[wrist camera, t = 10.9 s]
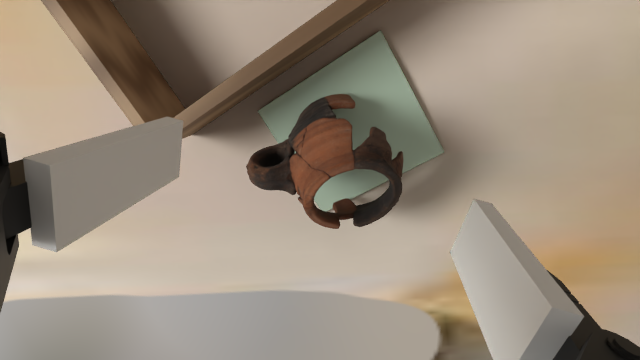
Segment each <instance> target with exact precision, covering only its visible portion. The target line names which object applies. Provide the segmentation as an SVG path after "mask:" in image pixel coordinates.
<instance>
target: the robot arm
mask: <svg viewBox="0 0 640 360" xmlns="http://www.w3.org/2000/svg"><path fill="white" fill-rule="evenodd" d="M182 131H183V121H182V120H178V119H174V118H171V117H164V118H160V119H157V120H153V121H150V122H146V123H143V124H139V125H136V126H132V127H129V128H125V129H122V130H119V131H115V132H112V133H108V134H105V135H101V136H98V137H94V138H91V139H87V140H84V141H80V142H77V143H73V144H70V145H66V146H63V147H59V148H56V149H52V150H49V151H45V152H42V153H38V154H35V155H31V156H28V157H24V158H23V159H22V160H19V161H15V162H12V163H9V162H8V155H7V147H6V139H5V134H3V133H1V132H0V312H1V308H2V305H3V301H4V298H5V294H6V290H7V287H8V283H9V280H10V276H11V272H12V269H13V265H14V262H15V258H16V254H17V251H18V247H19V241H18V233H21V232H23V231H25V230H27V229H29V228H31V236H32V245H34V246H37V247H41V248H44V249H47V250H51V251H54V252H58V251H59V250H61V249H63V248H64V247H66V246H68V245H69V244H71V243H72V242H74V241H76V240H77V239H79V238H81V237H82V236H84V235H85V234H87V233H89V232H90V231H92V230H94V229H95V228H97V227H98V226H100V225H102V224H103V223H105V222H106V221H108V220H110V219H111V218H113V217H115V216H116V215H118V214H119V213H121V212H123V211H124V210H126V209H128V208H129V207H131V206H132V205H134V204H136V203H137V202H139V201H141V200H142V199H144V198H145V197H147V196H149V195H150V194H152V193H154V192H155V191H157V190H158V189H160V188H162V187H163V186H165V185H166V184H168V183H170V182H171V181H173V180H175V179H176V178H178V177H179V170H180V157H181V144H182ZM450 253H451V256H452V258H453V261H454V263H455V266H456V268H457V271H458V273H459V276H460V278H461V281H462V283H463V286H464V288H465V291H466V293H467V296H468V298H469V301H470V303H471V306H472V308H473V311H474V313H475V316H476V318H477V321H478V323H479V326H480V328H481V331H482V333H483V336H484V338H485V341H486V343H487V346H488V348H489V351H490V353H491V356H492V358H493V360H640V347H638V346H637V345H635V344H634V343H632V342H631V341H629V340H628V339H626V338H624V337H622V336H620V335H618V334H616V333H613V332H610V331H608V330H603V329H601V328H600V326H599V325H598V324H597V323H596V322H595V321H594V319H593V318H592V317H591V316H590V315H589V313H588V312H587V311H586V310H585V309H584V308H583V306H582V305H581V304H579V302H578V300H577V299H576V298H575V297H574V296H573V295H572V294H571V292H570V291H569V290H568V289H567V287H566V286H565V285H564V284H563V283H562V282H561V281H560V280H559V279H558V278H556V277H555V276H554V275H553V274H551V273H550V272H549V271H548V270H546V269H545V268H544V267H543V265H542V264H541V263H540V262H539V261H538V259H537V258H536V257H535V256H534V254H533V253H532V252H531V251H530V250H529V248H528V247H527V246H526V245H525V243H524V242H523V241H522V240H521V239H520V237H519V236H518V235H517V234H516V233H515V231H514V230H513V229H512V228H511V226H510V225H509V224H508V223H507V222H506V220H505V219H504V218H503V217H502V215H501V214H500V213H499V212H498V211H497V209H496V208H495V207H494V206H493V204H492V203H488V202H484V201H481V200H477V199H473V202H472V204H471V206H470V208H469V211H468V213H467V215H466V217H465V220H464V222H463V224H462V226H461V229H460V231H459V233H458V235H457V238H456V240H455V242H454V244H453V247H452V249H451V251H450Z"/></svg>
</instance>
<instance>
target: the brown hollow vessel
mask: <svg viewBox="0 0 640 360" xmlns="http://www.w3.org/2000/svg"><path fill="white" fill-rule="evenodd" d="M353 108H355V101H354V100H353V99H352V98H351V96H349V95H347V94H334V95H330V96H326V97H322V98H320V99H318V100H316V101H314V102H312V103H311V104H310V105H309V106H307V107H306V108H305V109H304V110H303V111H302V113H301V114H300V116H299V118H298V120H297V123H296V125H295V126H294V128H293V129H292V131H291V133H290V134H289V136H288V139H286V140H285V141H283V142H282V143H279V144H277V145H274V146H269V147H266V148H263V149H261V150H259V151H257V152H256V153H254V154H253V155H252V156H251V158H250V160H249V163H248V164H247V166H246V167H247V170H248V171H247V173H248V175H249V178H250V181H251V182H252V183H253V184H254V185H256V186H257V187H259V188H261V189H264V190H283V191H286V192H288V193H290V194H292V195H294V194H296V192H297V194H298V195H300V197H299V198H298V200H299V201H300V202H301V203H302V204H303V207H304V210H305V211H306V214H307V215H308V216H309V217H310V219H312V220H313V221H314V222H315V223H318V224H319V225H322V226H324V227H328V228H333V229H338V228H339V226H340V222H339V220H345V219H350V218H353V220H354V221H353V224H354V225H355V226H358V227H362V226H365V225H368V224H370V223H372V222H374V221H376V220H378V219H380V218H382V217H383V216H384V215H386V214H387V213H388V212H389V211H390V210H391V209H392V207H393V206H395V204H396V203H397V202H398V200H399V197H400V195H401V193H402V183H401V177H402V170H403V152H402V151H400V152H398V154H397V156H396V157H395V158H394V159H392V151H391V146H390V144H389V143H388V142H387V140H386V134H385V133H384V132H383V131H382V130H380V129H378V128H377V127H371V128H370V133H369V137H368V138H366V140H365V141H364V142H363V143H362V144H361V145H360V146H358V147H357V148H356V149H355V150H353V142H352V125H351V124H350V122H349V121H348V120H346V119H344V118H336V115H335V113H334V112H333V111H332V110H333V109H353ZM295 151H296V153H295ZM354 169H366V170H374V171H377V172H379V173H381V174H383V175H384V176H386V177H387V178H388V179H389V182H390V186H389V188H388V189H387V190H386V192H385V193H384V194H383V195H382V196H380V197H379V198H378V199H376V200H375V201H372V202H369V203H366V204H362V205H358V206H356V205H355V204H354V203H353V202H352V201H351V200H350V199H348V198H345V199H342V200H339V201H336V202H334V203H333V210H335V213H330V212H326V211H323V210H320V209H318V208H317V207H316V206H315V204H314V197H315V194H316V193H317V191H318V190H319V188H320V187H321V186H322V185H323V184H324V183H325V182H326V181H328V180H329V179H330V178H331V177H334V176H336V175H338V174H341V173H344V172H347V171H351V170H354Z"/></svg>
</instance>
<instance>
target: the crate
mask: <svg viewBox="0 0 640 360" xmlns="http://www.w3.org/2000/svg"><path fill="white" fill-rule="evenodd" d="M41 1H42V2H43V4H44V5H45V6H46V8H47V9H48V10H49V12H50V13H51V15H52V16H53V17H54V19H55V20H56V21H57V23H58V24H59V25H60V27H61V28H62V30H63V31H64V32H65V34H66V35H67V36H68V38H69V39H70V40H71V42H72V43H73V45H74V46H75V47H76V49H77V50H78V51H79V53H80V54H81V55H82V57H83V58H84V59H85V61H86V62H87V64H88V65H89V66H90V68H91V69H92V70H93V72H94V73H95V74H96V76H97V77H98V79H99V80H100V81H101V83H102V84H103V85H104V87H105V88H106V89H107V91H108V92H109V94H110V95H111V96H112V98H113V99H114V100H115V102H116V103H117V104H118V106H119V107H120V109H121V110H122V111H123V113H124V114H125V115H126V117H127V118H128V119H129V121H130V122H131V124H132V125H133V126H136V125H139V124H143V123H146V122H150V121H153V120H157V119H160V118H164V117H171V118H174V119H178V120H182V121H183V131H182V139H183V138H185V137H188V136H190V135H192V134H194V133H195V132H197V131H198V130H200V129H201V128H203V127H204V126H206V125H207V124H208V123H210V122H211V121H213V120H214V119H216V118H217V117H219V116H220V115H222V114H223V113H225V112H226V111H228V110H229V109H231V108H232V107H233V106H235V105H236V104H238V103H239V102H241V101H242V100H244V99H245V98H247V97H248V96H250V95H251V94H253V93H254V92H255V91H257V90H258V89H260V88H261V87H263V86H264V85H266V84H267V83H269V82H270V81H272V80H273V79H275V78H276V77H278V76H279V75H280V74H282V73H283V72H285V71H286V70H288V69H289V68H291V67H292V66H294V65H295V64H297V63H298V62H300V61H301V60H302V59H304V58H305V57H307V56H308V55H310V54H311V53H313V52H314V51H316V50H317V49H319V48H320V47H322V46H323V45H325V44H326V43H327V42H329V41H330V40H332V39H333V38H335V37H336V36H338V35H339V34H341V33H342V32H344V31H345V30H347V29H348V28H350V27H351V26H352V25H354V24H355V23H357V22H358V21H360V20H361V19H363V18H364V17H366V16H367V15H369V14H370V13H372V12H373V11H374V10H376V9H377V8H379V7H380V6H382V5H383V4H385V3H386V2H388V1H389V0H337V1H335V2H334V3H332V4H331V5H330V6H328V7H327V8H326V9H324V10H323V11H321V12H320V13H319V14H317V15H316V16H314V17H313V18H312V19H310V20H309V21H307V22H306V23H305V24H303V25H302V26H300V27H299V28H298V29H296V30H295V31H294V32H292V33H291V34H289V35H288V36H287V37H285V38H284V39H282V40H281V41H280V42H278V43H277V44H275V45H274V46H273V47H271V48H270V49H268V50H267V51H266V52H264V53H263V54H262V55H260V56H259V57H257V58H256V59H255V60H253V61H252V62H250V63H249V64H248V65H246V66H245V67H243V68H242V69H241V70H239V71H238V72H236V73H235V74H234V75H232V76H231V77H229V78H228V79H227V80H225V81H224V82H223V83H221V84H220V85H218V86H217V87H216V88H214V89H213V90H211V91H210V92H209V93H207V94H206V95H204V96H203V97H202V98H200V99H199V100H197V101H196V102H195V103H193V104H192V105H191V106H189V107H188V108H186V109H185V108H184V107H183V105H182V104H181V102H180V101H179V99H178V98H177V96H176V95H175V94H174V92H173V91H172V89H171V88H170V86H169V85H168V83H167V82H166V80H165V79H164V78H163V76H162V75H161V73H160V72H159V70H158V69H157V67H156V66H155V64H154V63H153V62H152V60H151V59H150V57H149V56H148V54H147V53H146V51H145V50H144V49H143V47H142V46H141V44H140V43H139V41H138V40H137V38H136V37H135V35H134V34H133V33H132V31H131V30H130V28H129V27H128V25H127V24H126V22H125V21H124V19H123V18H122V17H121V15H120V14H119V12H118V11H117V9H116V8H115V6H114V5H113V4H112V2H111V1H110V0H41Z"/></svg>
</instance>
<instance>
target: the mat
mask: <svg viewBox="0 0 640 360" xmlns="http://www.w3.org/2000/svg"><path fill="white" fill-rule="evenodd" d="M334 94H347V95H349V96H351V98H352V99H353V100H354V101H355V108H353V109H333V110H332V111H333V112H334V113H335V115H336V118H344V119H346V120H348V121H349V122H350V124H351V125H352V142H353V150H355V149H356V148H357V147H358V146H360V145H361V144H362V143H363V142H364V141H365V140H366V138H368V137H369V133H370V128H371V127H377V128H378V129H380V130H382V131H383V132H384V133H385V134H386V140H387V142H388V143H389V144H390V146H391V151H392V159H394V158H395V157H396V156H397V154H398V152H400V151H402V152H403V170H402V173H404V172H406V171H408V170H410V169H412V168H414V167H416V166H418V165H420V164H422V163H424V162H426V161H428V160H430V159H432V158H434V157H436V156H438V155H440V154H442V153H444V150H443V148H442V146H441V144H440V143H439V141H438V139H437V137H436V135H435V133H434V131H433V129H432V127H431V125H430V123H429V122H428V120H427V118H426V116H425V114H424V112H423V110H422V108H421V106H420V104H419V102H418V101H417V99H416V97H415V95H414V93H413V91H412V89H411V87H410V85H409V83H408V81H407V80H406V78H405V76H404V74H403V72H402V70H401V68H400V66H399V64H398V62H397V60H396V59H395V57H394V55H393V53H392V51H391V49H390V47H389V45H388V43H387V41H386V39H385V38H384V36H383V34H382V32H381V30H380V31H379V32H377V33H376V34H374V35H373V36H371V37H370V38H368V39H367V40H365V41H364V42H362V43H361V44H359V45H358V46H356V47H354V48H353V49H351V50H350V51H348V52H347V53H345V54H344V55H342V56H341V57H339V58H338V59H336V60H335V61H333V62H332V63H330V64H329V65H327V66H326V67H324V68H323V69H321V70H319V71H318V72H316V73H315V74H313V75H312V76H310V77H309V78H307V79H306V80H304V81H303V82H301V83H300V84H298V85H297V86H295V87H294V88H292V89H291V90H289V91H287V92H286V93H284V94H283V95H281V96H280V97H278V98H277V99H275V100H274V101H272V102H271V103H269V104H268V105H266V106H265V107H263V108H262V109H260V110H259V111H258V112H259V114H260V116H261V117H262V119H263V120H264V122H265V123H266V125H267V127H268V128H269V130H270V131H271V133H272V134H273V136H274V137H275V139H276V141H277V142H278V144H279V143H282V142H283V141H285V140H286V139H288V136H289V134H290V133H291V131H292V129H293V128H294V126H295V125H296V123H297V120H298V118H299V116H300V114H301V113H302V111H303V110H304V109H305V108H306V107H307V106H309V105H310V104H311V103H312V102H314V101H316V100H318V99H320V98H322V97H326V96H330V95H334ZM295 153H296V151H295ZM388 180H389V179H388V178H387V177H386V176H384V175H383V174H381V173H379V172H377V171H374V170H366V169H354V170H351V171H347V172H344V173H341V174H338V175H336V176H334V177H331V178H330V179H329V180H328V181H326V182H325V183H324V184H323V185H322V186H321V187H320V188H319V190H318V191H317V193H316V194H315V197H314V200H315V202H316V203H317V205H318V206H319V208H320V209H321V210H323V211H328V210H330V209H332V208H333V203H334V202H336V201H339V200H342V199H345V198H348V199H352V198H354V197H356V196H358V195H360V194H362V193H364V192H366V191H368V190H370V189H372V188H374V187H376V186H378V185H380V184H382V183H384V182H386V181H388Z"/></svg>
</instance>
